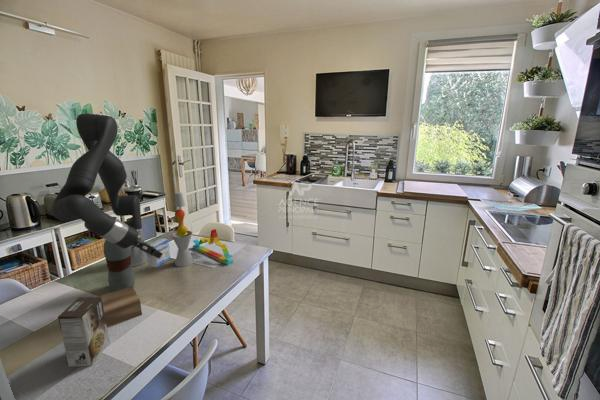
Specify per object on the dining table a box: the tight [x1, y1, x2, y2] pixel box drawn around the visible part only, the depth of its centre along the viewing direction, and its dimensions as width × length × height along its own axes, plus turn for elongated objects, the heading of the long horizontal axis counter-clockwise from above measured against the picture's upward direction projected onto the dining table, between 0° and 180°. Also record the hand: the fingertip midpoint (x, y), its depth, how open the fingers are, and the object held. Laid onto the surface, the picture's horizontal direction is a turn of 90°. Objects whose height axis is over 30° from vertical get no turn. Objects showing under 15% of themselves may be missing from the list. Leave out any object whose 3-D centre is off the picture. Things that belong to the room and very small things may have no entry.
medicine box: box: [145, 237, 171, 268], centre depth 112 cm, size 8×4×9 cm, turn 167°
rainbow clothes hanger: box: [192, 228, 234, 266], centre depth 146 cm, size 30×3×15 cm, turn 52°
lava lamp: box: [171, 191, 195, 268], centre depth 135 cm, size 9×9×35 cm
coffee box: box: [57, 296, 110, 368], centre depth 81 cm, size 9×6×16 cm
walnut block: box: [97, 286, 143, 328], centre depth 101 cm, size 12×12×6 cm
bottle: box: [103, 216, 136, 292], centre depth 114 cm, size 9×9×30 cm
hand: (156, 253), depth 111 cm, fingers closed on medicine box, 5 cm apart
